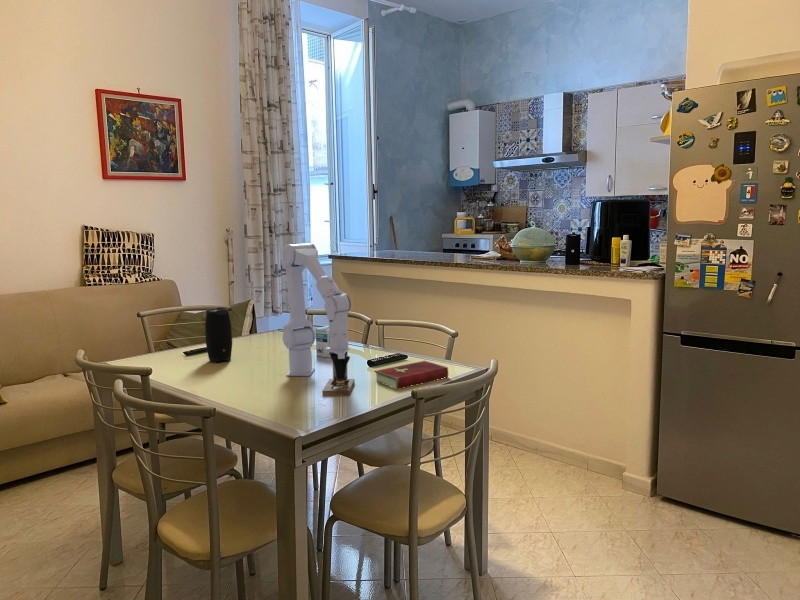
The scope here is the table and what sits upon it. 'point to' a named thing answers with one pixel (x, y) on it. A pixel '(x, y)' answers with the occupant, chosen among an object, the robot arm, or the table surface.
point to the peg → (339, 381)
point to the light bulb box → (322, 341)
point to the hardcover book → (411, 374)
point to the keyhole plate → (345, 391)
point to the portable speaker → (218, 334)
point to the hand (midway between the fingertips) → (339, 376)
